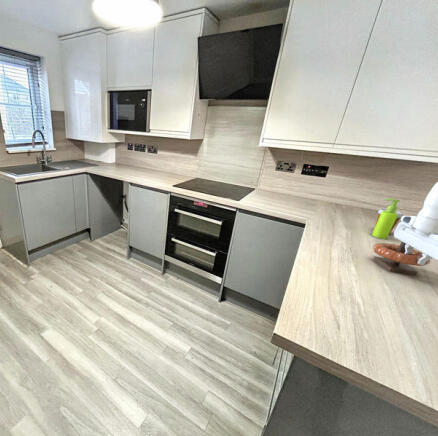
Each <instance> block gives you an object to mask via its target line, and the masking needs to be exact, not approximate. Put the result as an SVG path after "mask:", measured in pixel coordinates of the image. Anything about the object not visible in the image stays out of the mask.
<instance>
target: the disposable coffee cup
mask: <svg viewBox="0 0 438 436" xmlns="http://www.w3.org/2000/svg"><path fill="white" fill-rule="evenodd" d="M386 210H387V208H380V209H379V210H378V211H377V212H378V214H377V218H376V221H375V225H374V227H375V226H376V224H377V222H378V219H379V217H380V215H381V213H382V211H386ZM395 213H396V214H398V216H397V218H396V220H395V222H394V224H393V227H392V229H391V231H390V233H389V235H390V234H391V232H392V231H393V230H394V229H395V227H396V225H398V222H399V221H400V220H401V218H402V216H403V212H401V211H399V210H396V212H395Z"/></svg>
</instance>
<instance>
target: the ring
mask: <svg viewBox="0 0 438 436" xmlns="http://www.w3.org/2000/svg"><path fill="white" fill-rule="evenodd" d="M399 246H400V244H399V245H398V244H394V243H389V242H388V243H386V242H381V243H375V244H374V245H373V247H372V250H373V252H374V253H375V254H376V255H378V256H379V257H383V258H387V259H390V260H392V261H395V262H399V263H403V264H407V265H408V266H416V267H423V266H427V265H429V264H430V263H431V259H430V260H428V261H426V263H425V264H424V265H419V264H418V263H416V262H415V261H416V259H417V258H422V257H423V256H422V254H423V252H421V251H419V250H417V249H415V248H413V254H414V255H408V254H404V253H399V252H397V250H398V248H399Z"/></svg>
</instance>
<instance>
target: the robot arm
mask: <svg viewBox="0 0 438 436" xmlns="http://www.w3.org/2000/svg"><path fill="white" fill-rule="evenodd" d="M393 238H395V239H397V240H398V241H400V242H404V243H406V245H405V251H406V252H405V254H408V255H414V254H413V249H414V250H417V251H419V252H421V253H423V254H422V256H423V257H422V258H417V259H416V261H415V262H416V263H418V264H419V265H423V266H425V265H424V264H425V263H426V261H428V260H430V261H431V260H432V259H434V260H436V261H438V181H437V182H435V184H434V185H433V186H432V188H431V189H430V190H429V192H428V194H427V195H426V197H425V199H424V201H423V206H422V208H421V210H419V211H418V212H417V215H402V217H401V218H400V222H399V223H397V226H396V228H395V230H394V232H393Z"/></svg>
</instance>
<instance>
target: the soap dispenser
mask: <svg viewBox="0 0 438 436" xmlns="http://www.w3.org/2000/svg"><path fill="white" fill-rule="evenodd" d="M384 200H385V201H387V202H388V201H389V202H390V201H391V204H389V205H388V206H387V207H386V209H387V210H386V211H382V213H381V215H380V217H379V219H378V222H377V224H376V223H375V225H376V226H375V225H374V229H373V231H372V233H371V236H373V237H375V238H379V239H383V240H386V239H388V237H389V235H390V234H391V232H392V231H391V229H392V227H393V224H394V222H395V220H396V218H397V216H398V214H396V213H395V212H396V211H398V206H397V204H398V203H401V200H399V199H395V198H384ZM390 231H391V232H390ZM389 233H390V234H389Z"/></svg>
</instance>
